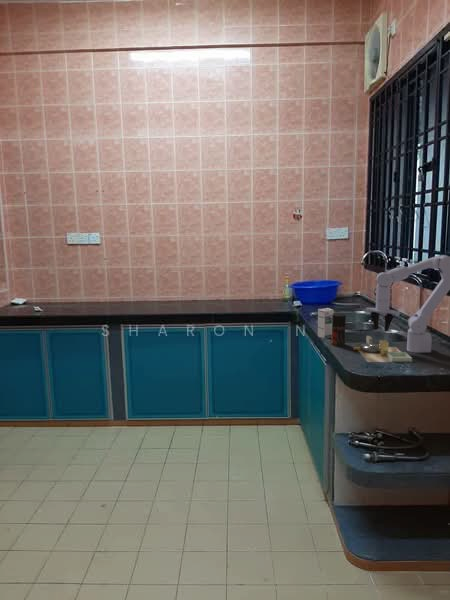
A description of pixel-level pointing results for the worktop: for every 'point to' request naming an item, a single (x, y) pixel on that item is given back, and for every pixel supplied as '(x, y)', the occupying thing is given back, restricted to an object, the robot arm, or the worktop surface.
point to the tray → (399, 356)
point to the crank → (368, 346)
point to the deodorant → (338, 329)
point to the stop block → (383, 347)
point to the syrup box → (325, 322)
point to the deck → (378, 355)
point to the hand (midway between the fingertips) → (381, 329)
